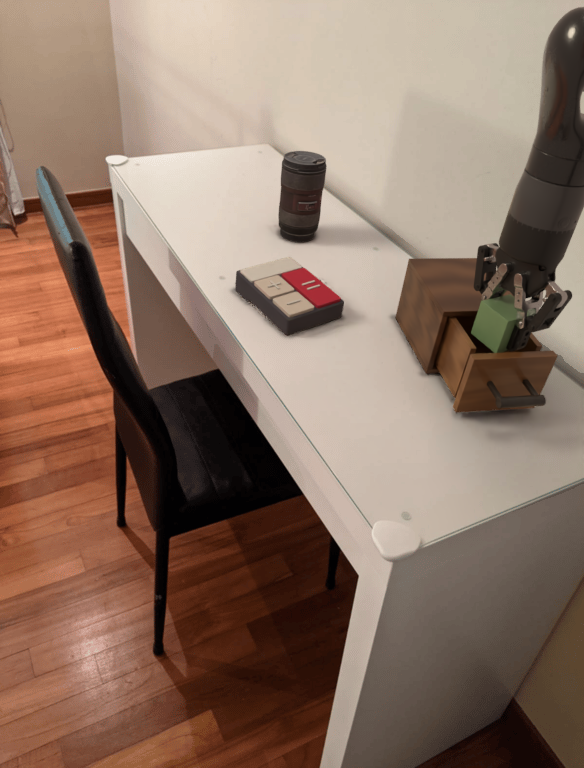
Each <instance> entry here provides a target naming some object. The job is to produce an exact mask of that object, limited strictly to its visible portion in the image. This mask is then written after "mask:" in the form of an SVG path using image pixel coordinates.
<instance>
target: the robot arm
mask: <svg viewBox="0 0 584 768" xmlns="http://www.w3.org/2000/svg"><path fill="white" fill-rule="evenodd" d="M540 79H541V85H540V96H539V97H540V99H539V109H538V119H537V120H538V121H537V126H536V127H537V128H536V133H535V137H534V139H533V142H532V145H531V148H530V151H529V154H528V157H527V160H526V163H525V166H524V169H523V172H522V174H521V176H520V177H519V180H518V181H517V182H518V183H517V185H516V187H515V190H514V192H513V196H512V198H511V202H510V205H509V208H508V211H507V214H506V217H505V220H504V223H503V226H502V229H501V233H500V235H499V239H498V243H497V242H493V243H486V244H483V245H482V244H481V245H479V246H478V248H477V253H476V258H477V261H476V270H475V278H474V289H475V290H476V291H480V293H481V294H482V295H481V298H482V301H483V300H487V299H492V298H496V297H500V296H503V295H504V294H505V292H506V291H510V292H511V293H512V295H513V296H514V297H515V300H514V308H515V309H516V310H517V318H516V325H515V326H514V329H513V331H512V334H511V336H510V339H509V342H508V344H507V347H506V348H507V349H508V350H509V351H510V352H512V351H516V350H519V349H522V348H524V347H525V346H526V345H527V342H528V340H529V337H530V335H531V332H532V333H536V332H540V331H543V330H547V329H550V328H551V327H552V325H553V324H554V323H555V321H556V320H557V318H558V317H559V316H560V315H561V313H562V312H563V311H564V309H565V308H566V306H568V304H569V303H570V302H571V300H572V299H573V292H572V291H571V290H570V289H565V290H563V289H562V288H561V287H560V286H559V285H558V284H557V283H556V279H557V277H556V276H557V275H556V271H557V268H558V266H559V264H560V263H561V262H562V260H564V257H565V254H566V252H567V250H568V249H569V246H570V243H571V240H572V238H573V235H574V233H575V230H576V228H577V226H578V223H579V220H580V218H581V215H582V213H583V210H584V113H583V112H581V98H582V95H583V92H584V6H578V7H576V8H573V9H571V10H569V11H568V12H566V13H565V14H563V15H562V17H561V18H559V20H558V21H557V22H556V24H555V25H554V26H553V28H552V30H551V31H550V33H549V34H548V37H547V39H546V42H545V45H544V47H543V53H542V63H541V78H540ZM496 270H497V272H496ZM485 273H486V279H485V280H484V275H485ZM544 291H545V295H544ZM526 299H529V300H526ZM527 312H528V317H527Z"/></svg>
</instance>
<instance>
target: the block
mask: <svg viewBox="0 0 584 768" xmlns="http://www.w3.org/2000/svg"><path fill="white" fill-rule="evenodd" d="M514 300H515V297H514V296H512V295H511V294H509V295H505V296H500V297H496V298H492V299H487V300H483V301H481V303H480V306H479V309H478V313H477V316H476V319H475V322H474V325H473V328H472V331H471V334H472V335H474V336H475V337H476V338H477V339H478V340H480V341H481V342H482V343H483V344H485V345H486V346H487V347H488V348H489V349H491V350H492V351H493V352H494V353H502V352H506V351H509V350H508V349H507V348H506V347H507V344H508V342H509V339H510V336H511V334H512V331H513V329H514V326H515V325H516V318H517V310H516V309H515V308H514ZM527 317H528V312H527Z"/></svg>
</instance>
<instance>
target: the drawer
mask: <svg viewBox="0 0 584 768" xmlns="http://www.w3.org/2000/svg"><path fill="white" fill-rule="evenodd" d="M475 319H476V316H448V317H447V321H446V324H445V327H444V331H443V334H442V338H441V341H440V344H439V348H438V351H437V355H436V358H435V361H434V363H435V365H436V367H437V369H438V370H439V372H440V373H439V374H440V376H441V377H442V380H443V381H444V383H445V385H446V386H447V388H448V390H449V392H450V393H451V395H452V397H453V398H454V401H453V405H452V409H453V410H454V412H455V413H471V412H472V413H473V412H489V411H491V412H492V411H507V410H525V409H526V410H527V409H535V407H543V406H546V401H547V399H546V397H545V395H544V394H542V392H543V390H544V388H545V386H546V383H547V381H548V379H549V376H550V374H551V372H552V369H553V368H554V365H555V363H556V361H557V359H558V357H559V356H558V354H557V353H556V352H555V351H554V350H542V349H543V344H542V343H541V342H540V341H539V339H538V338H537V337H536V336H535V334H533V332H531V335H530V337H529V340H528V342H527V345H526V346H525V347H524V348H522V349H519V350H516V351H512V352H510V351H506V352H502V353H494V352H493V351H492V350H491V349H489V348H488V347H487V346H486V345H485V344H483V343H482V342H481V341H480V340H478V339H477V338H476V337H475V336H474V335H472V334H471V331H472V328H473V325H474V322H475Z"/></svg>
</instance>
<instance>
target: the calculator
mask: <svg viewBox="0 0 584 768" xmlns="http://www.w3.org/2000/svg"><path fill="white" fill-rule="evenodd" d="M234 289H235V291H236V292H237V293H238V294H239V295H240V296H241V297H242V298H243V299H244V300H245V301H248V302H250V303H252V305H254V306H255V308H257V309H258V310H259V311H260V312H261V313H262V314H263V315H264V316H265V317H266V318H267V319H268V320H269V321H270V322H271V323H272V324H273V325H275V327H277V328H278V330H280V331H281V332H282V333H283V334H284V335H285V336H291V335H294V334H296V333H297V334H298V333H300V332H302V331H305V330H308V329H312V328H315V327H317V326H320V325H324V324H327V323H329V322H331V321H335V320H337V319H340V318H342V315H343V311H344V306H345V301H344V300H343V299H342V297H340V295H339V294H337V292H335V291H334V290H333V289H331V288H330V287H329V286H328V285H326V284H325V283H324V282H323V281H321V280H320V278H318V277H316V276H315V275H314V273H311V271H309V269H307V268H305V267H304V266H302V264H300V263H299V262H297V260H295V259H294V258H292V257H291V256H287V257H283V258H279V259H275V260H272V261H268V262H264V263H260V264H257V265H252V266H249V267H245V268H242V269H239V270H236V273H235V287H234Z"/></svg>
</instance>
